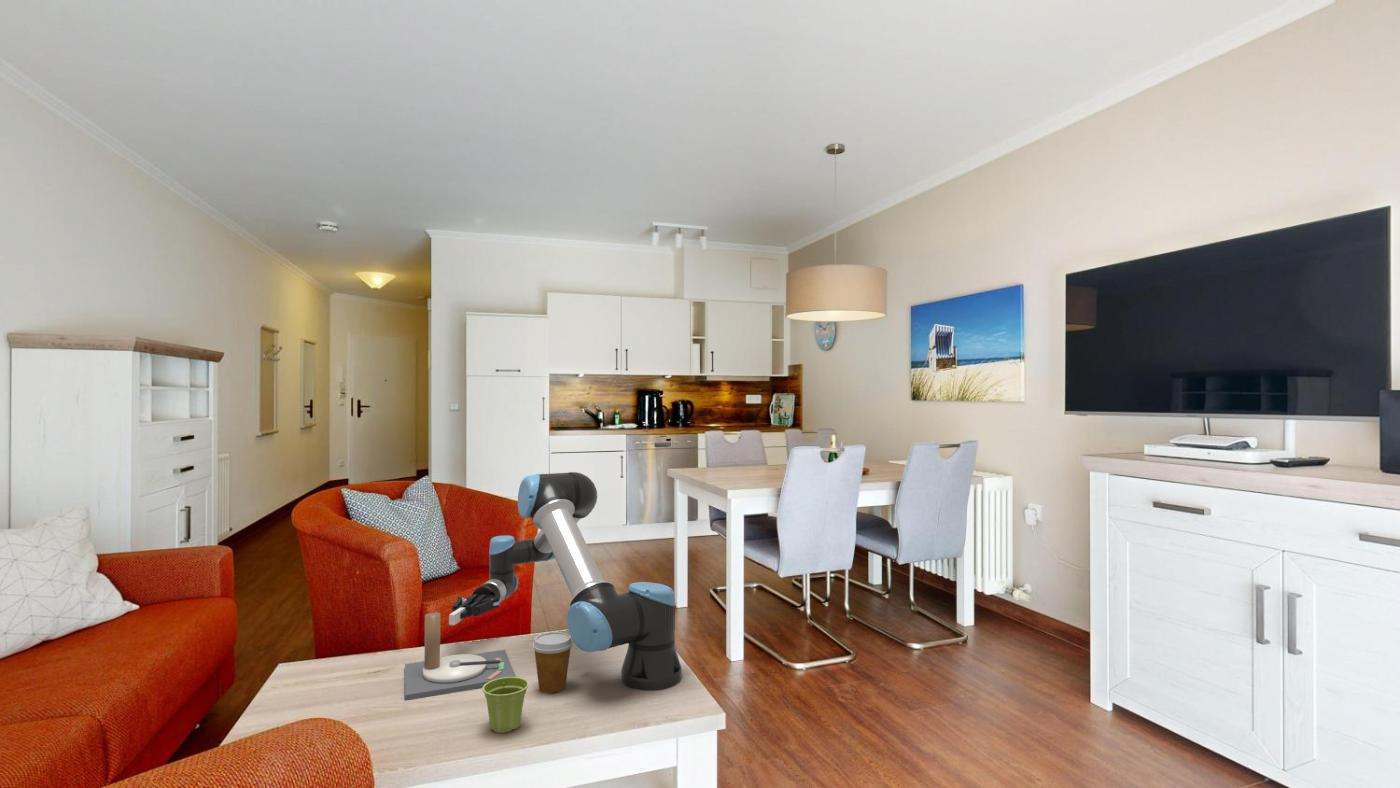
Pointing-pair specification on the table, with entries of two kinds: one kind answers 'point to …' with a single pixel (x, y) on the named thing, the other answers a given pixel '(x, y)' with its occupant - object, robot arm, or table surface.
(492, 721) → the plant pot
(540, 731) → the table surface
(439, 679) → the post on round base
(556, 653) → the disposable coffee cup
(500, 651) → the dial plate
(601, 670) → the table surface
